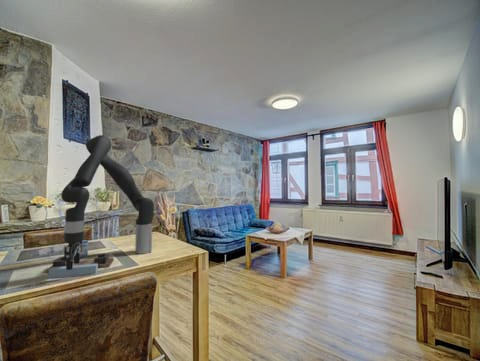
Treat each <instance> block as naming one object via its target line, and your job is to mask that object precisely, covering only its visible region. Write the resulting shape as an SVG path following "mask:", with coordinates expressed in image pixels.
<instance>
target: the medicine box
mask: <svg viewBox="0 0 480 361" xmlns="http://www.w3.org/2000/svg"><path fill="white" fill-rule="evenodd" d="M88 250H89V240H88V239H86V240H85V239H84V240H83V241H82V252H81V254H80V257H81V258H83V256H84V257H86V256H88V254H89V253H88V252H89V251H88ZM73 260H74V258H73Z"/></svg>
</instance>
